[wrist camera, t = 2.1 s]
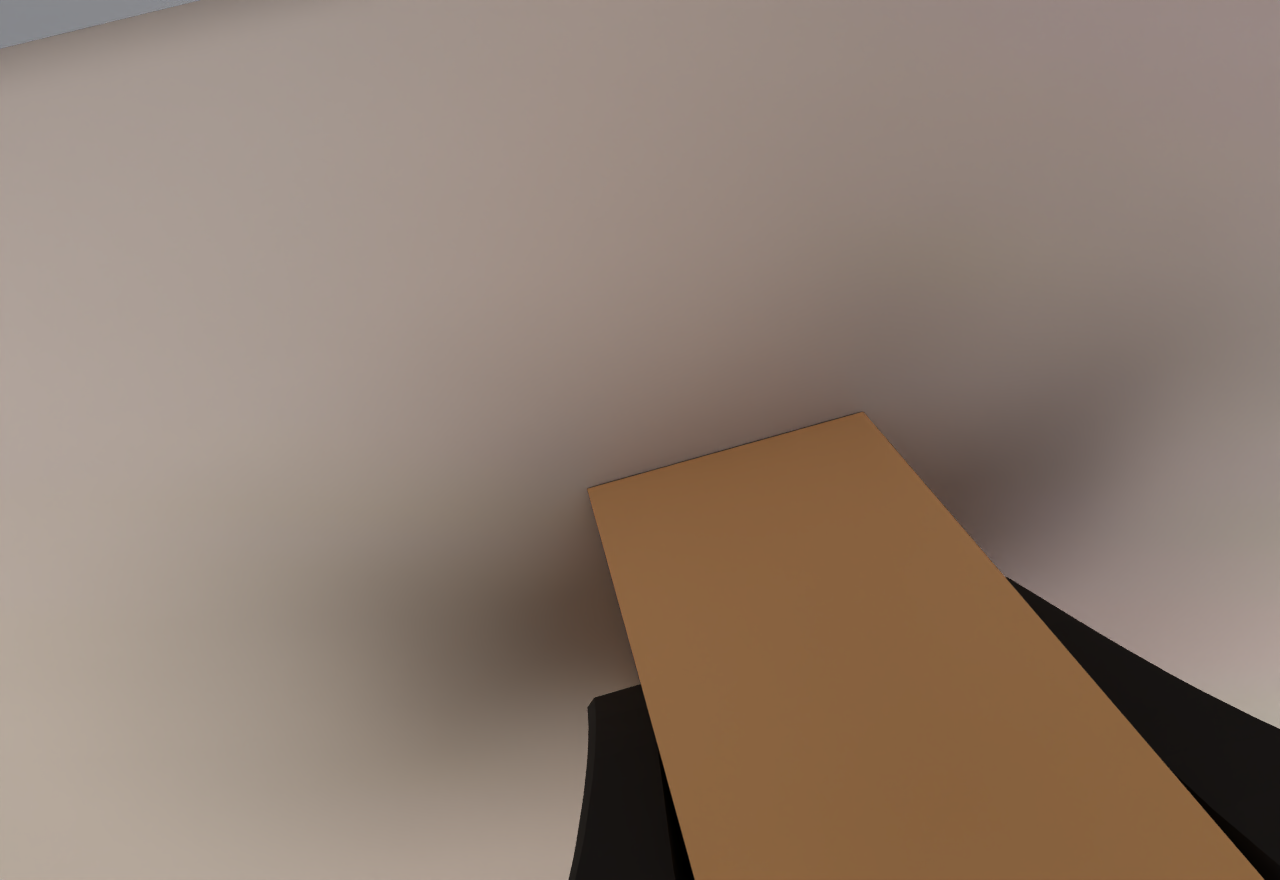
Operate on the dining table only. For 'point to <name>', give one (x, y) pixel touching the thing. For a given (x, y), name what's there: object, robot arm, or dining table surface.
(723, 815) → the plug
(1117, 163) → the dining table surface
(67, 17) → the socket plate
